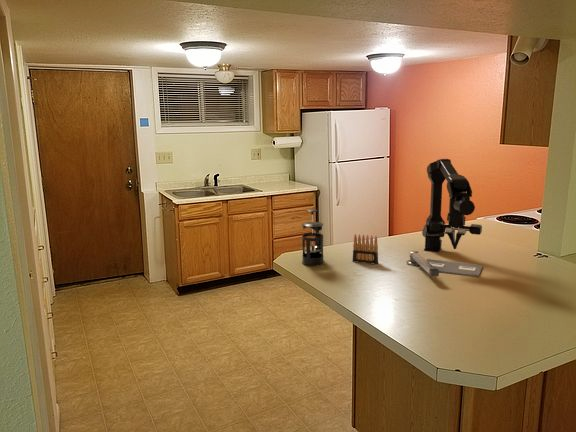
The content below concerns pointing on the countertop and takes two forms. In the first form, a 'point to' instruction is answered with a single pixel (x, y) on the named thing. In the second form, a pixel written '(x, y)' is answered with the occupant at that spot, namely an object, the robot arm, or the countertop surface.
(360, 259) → the ammunition clip
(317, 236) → the french press
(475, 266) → the label board
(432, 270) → the cable arm
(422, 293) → the countertop surface
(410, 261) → the pivot post
